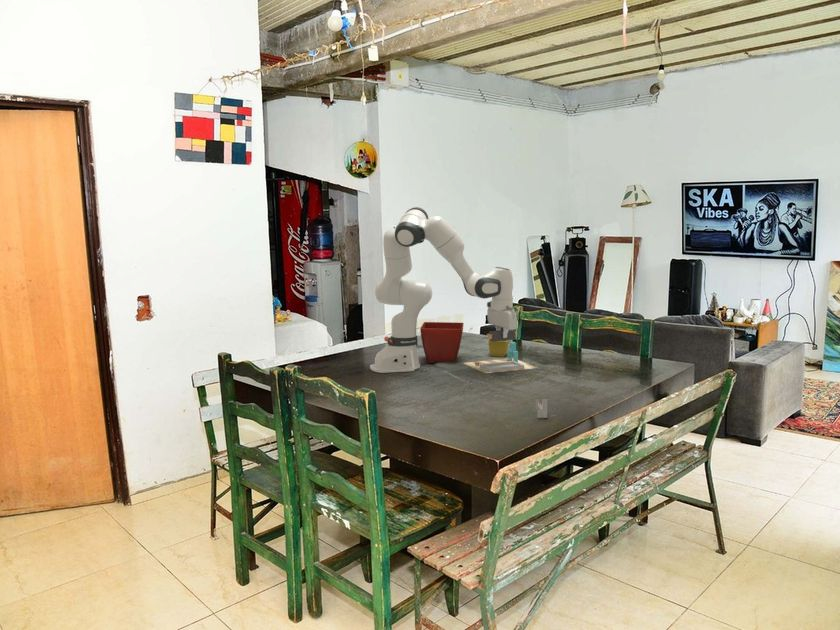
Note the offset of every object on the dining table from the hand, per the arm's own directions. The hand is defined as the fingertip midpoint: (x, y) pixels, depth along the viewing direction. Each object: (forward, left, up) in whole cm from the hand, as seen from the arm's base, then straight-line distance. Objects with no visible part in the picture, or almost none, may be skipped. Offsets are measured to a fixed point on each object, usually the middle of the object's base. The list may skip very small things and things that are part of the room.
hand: (501, 336), depth 290 cm
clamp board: (+2, +6, -15) cm, 16 cm away
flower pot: (+12, +25, -15) cm, 32 cm away
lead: (0, 0, -1) cm, 1 cm away
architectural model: (-23, -59, -16) cm, 66 cm away
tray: (0, 0, -14) cm, 14 cm away
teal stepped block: (+11, +10, -14) cm, 20 cm away
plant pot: (-15, +30, -15) cm, 37 cm away
